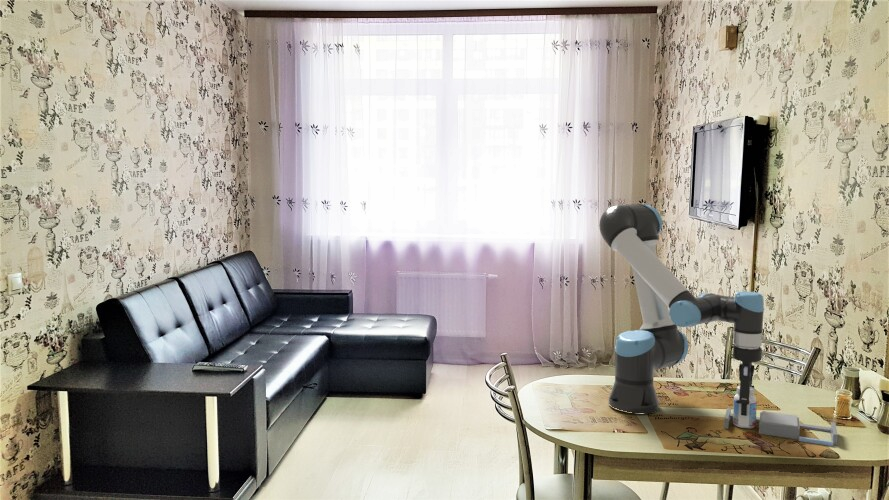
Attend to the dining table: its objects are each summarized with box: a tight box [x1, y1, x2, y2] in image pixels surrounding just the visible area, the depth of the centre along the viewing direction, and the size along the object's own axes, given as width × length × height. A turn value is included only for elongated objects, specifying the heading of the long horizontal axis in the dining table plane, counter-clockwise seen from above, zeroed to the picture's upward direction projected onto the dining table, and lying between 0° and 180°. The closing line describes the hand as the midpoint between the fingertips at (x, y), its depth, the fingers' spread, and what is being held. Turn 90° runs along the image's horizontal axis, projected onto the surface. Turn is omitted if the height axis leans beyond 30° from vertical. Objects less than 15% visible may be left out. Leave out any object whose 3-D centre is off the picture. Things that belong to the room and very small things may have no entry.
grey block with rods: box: [723, 407, 839, 447], centre depth 188 cm, size 28×13×4 cm, turn 63°
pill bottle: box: [732, 385, 758, 429], centre depth 191 cm, size 6×6×11 cm
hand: (744, 418), depth 191 cm, fingers open, 12 cm apart
